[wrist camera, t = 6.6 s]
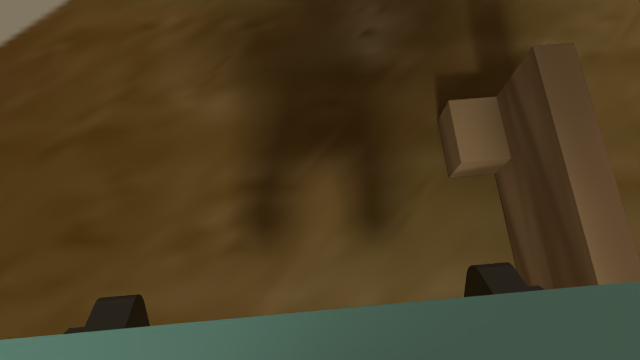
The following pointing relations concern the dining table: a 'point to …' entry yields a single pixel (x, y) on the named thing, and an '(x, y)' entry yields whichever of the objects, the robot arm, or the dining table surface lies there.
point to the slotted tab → (383, 332)
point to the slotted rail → (546, 172)
